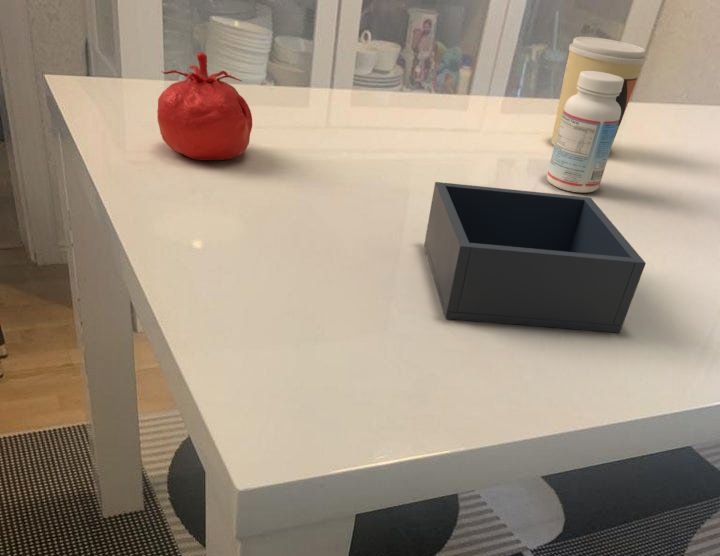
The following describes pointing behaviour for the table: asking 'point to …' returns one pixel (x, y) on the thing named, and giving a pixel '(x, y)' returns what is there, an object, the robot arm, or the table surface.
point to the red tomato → (204, 115)
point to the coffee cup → (600, 69)
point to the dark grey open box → (529, 259)
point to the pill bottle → (586, 133)
